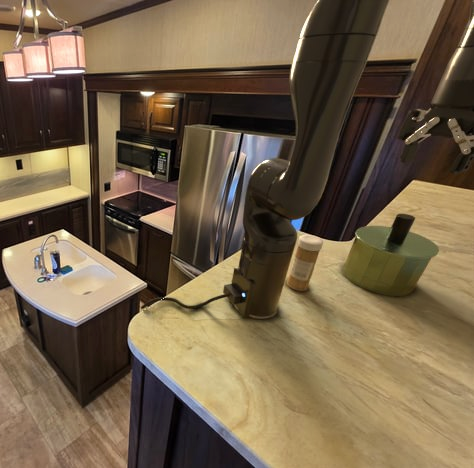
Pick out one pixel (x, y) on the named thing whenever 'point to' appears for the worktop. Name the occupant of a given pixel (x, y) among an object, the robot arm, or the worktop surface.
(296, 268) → the sprinkles bottle
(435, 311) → the worktop surface
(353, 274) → the bin
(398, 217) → the bin lid
